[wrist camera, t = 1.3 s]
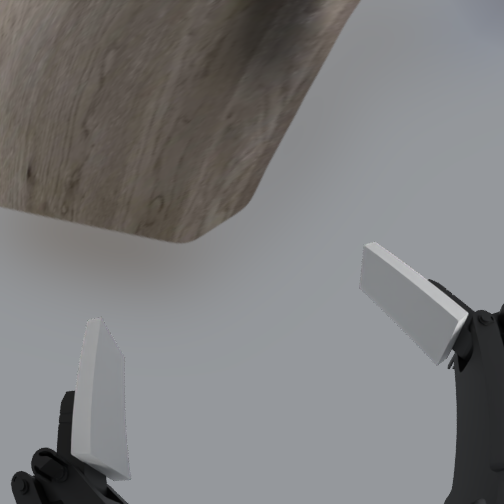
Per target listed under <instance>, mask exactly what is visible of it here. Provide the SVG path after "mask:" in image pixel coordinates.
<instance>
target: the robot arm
mask: <svg viewBox="0 0 504 504" xmlns="http://www.w3.org/2000/svg"><path fill="white" fill-rule="evenodd" d="M359 288H360V289H361V290H362V291H363V292H364V293H365V294H366V295H367V296H368V297H369V298H370V299H372V300H373V301H374V302H375V303H376V304H377V305H378V306H379V307H380V308H381V309H382V310H383V311H384V312H385V313H386V314H387V315H388V316H389V317H390V318H391V319H392V320H393V321H394V322H395V323H396V324H397V325H398V326H399V327H400V328H401V329H402V330H403V331H404V332H405V333H406V334H407V335H408V336H409V337H410V338H411V339H412V340H413V341H414V342H415V343H416V344H417V345H418V346H419V348H420V349H422V351H423V352H424V353H425V354H426V355H427V356H428V357H429V358H430V359H431V360H432V361H433V362H434V363H435V364H436V365H439V364H440V363H441V362H443V361H444V360H445V359H447V357H448V355H449V354H450V352H451V350H452V349H453V350H454V351H455V354H454V356H453V357H452V359H451V361H450V363H449V365H448V369H450V367H451V366H452V364H453V362H454V366H453V369H455V381H456V400H457V440H456V458H455V469H454V478H453V486H452V490H451V492H450V494H449V496H448V497H447V498H446V500H445V503H444V504H504V304H503V305H502V307H501V310H500V312H497V313H494V314H491V313H489V312H487V311H484V310H478V311H476V312H474V311H473V310H472V309H471V308H469V307H468V306H467V305H466V304H464V303H463V302H462V301H461V300H459V299H458V298H457V297H456V296H455V295H452V293H451V292H449V291H448V290H446V288H444V287H443V286H442V285H440V284H439V283H437V282H435V281H433V280H430V279H429V280H426V279H425V278H424V277H423V276H421V275H420V274H419V273H417V272H416V271H415V270H413V269H412V268H411V267H409V266H408V265H407V264H405V263H404V262H403V261H401V260H400V259H398V258H397V257H396V256H394V255H393V254H391V253H390V252H389V251H387V250H386V249H384V248H383V247H382V246H380V245H379V244H377V243H376V242H372V243H369V244H366V245H364V248H363V259H362V269H361V277H360V285H359ZM124 366H125V357H124V355H123V353H122V352H121V350H120V349H119V347H118V345H117V343H116V342H115V340H114V338H113V337H112V335H111V333H110V331H109V329H108V328H107V326H106V324H105V322H104V320H103V318H102V317H99V318H94V319H90V320H87V325H86V330H85V334H84V340H83V345H82V350H81V356H80V361H79V368H78V374H77V382H76V389H75V391H69V392H66V394H65V396H64V398H63V400H62V402H61V409H60V417H59V423H60V424H59V427H58V441H57V453H56V452H55V451H54V450H52V449H49V448H41V449H39V450H38V451H36V453H35V454H34V455H33V458H32V461H31V466H32V471H33V473H34V476H31V475H30V474H28V473H26V472H23V471H19V472H17V473H16V474H15V475H14V476H13V478H12V482H11V486H12V492H13V494H14V497H15V500H16V503H17V504H128V503H127V502H126V501H125V500H124V499H123V498H122V497H121V496H120V495H118V494H117V493H116V492H115V491H114V490H113V489H112V488H111V487H110V486H109V485H108V484H107V482H106V477H108V478H110V479H112V480H113V481H119V480H131V475H130V467H129V458H128V447H127V435H126V419H125V388H124V369H125V368H124Z"/></svg>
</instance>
